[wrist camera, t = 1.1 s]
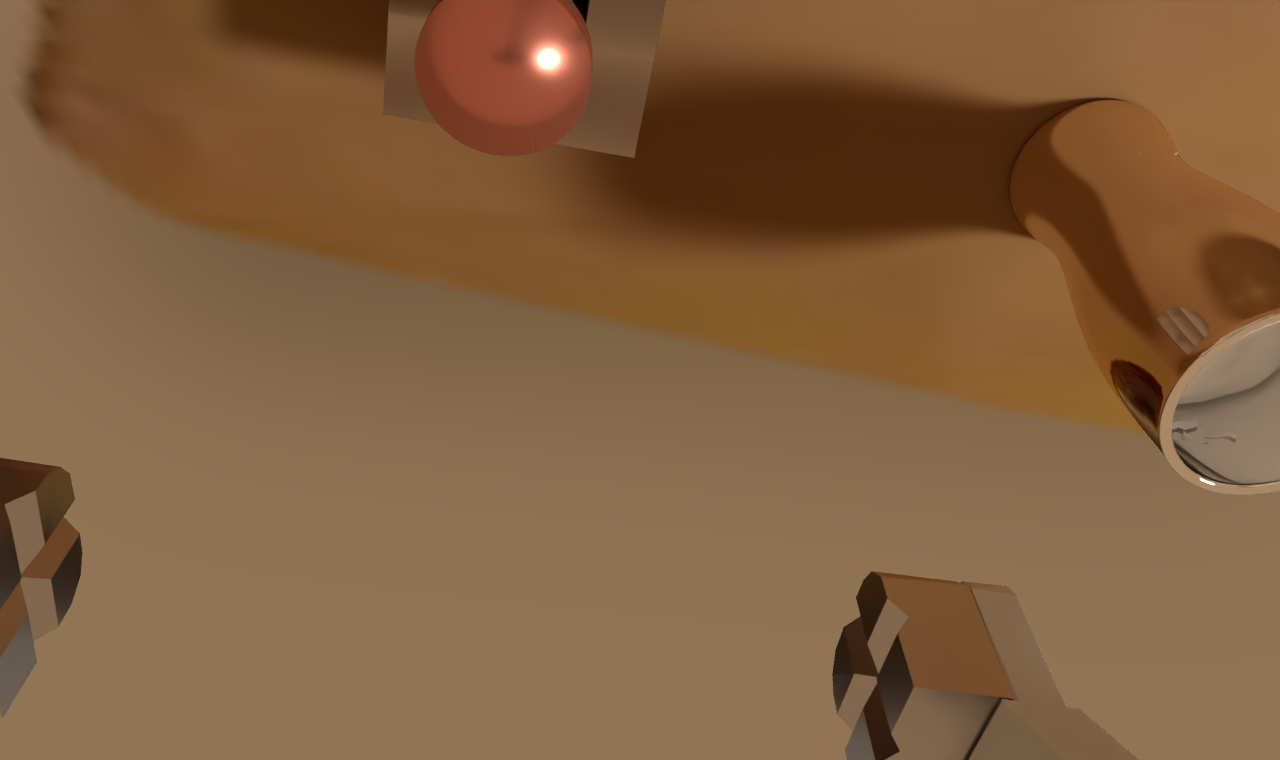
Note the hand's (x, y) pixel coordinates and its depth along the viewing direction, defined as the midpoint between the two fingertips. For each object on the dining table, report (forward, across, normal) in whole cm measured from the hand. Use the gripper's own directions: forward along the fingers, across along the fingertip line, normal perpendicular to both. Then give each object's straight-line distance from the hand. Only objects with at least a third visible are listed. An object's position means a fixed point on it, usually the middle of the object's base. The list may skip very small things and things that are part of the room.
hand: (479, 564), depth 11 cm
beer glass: (+30, -21, +4) cm, 37 cm away
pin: (+30, +1, -1) cm, 30 cm away
